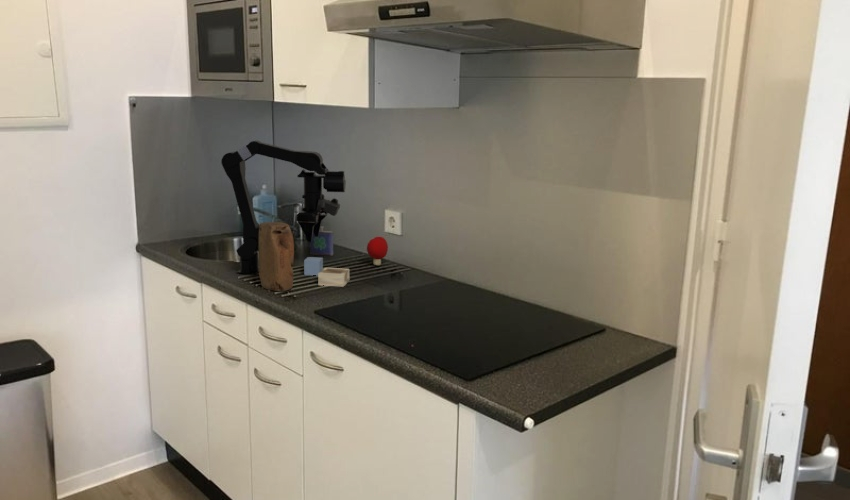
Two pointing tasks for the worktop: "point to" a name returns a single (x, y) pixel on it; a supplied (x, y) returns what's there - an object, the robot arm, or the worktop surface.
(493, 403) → the worktop surface
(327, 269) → the beech base
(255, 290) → the worktop surface
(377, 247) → the red toy tree
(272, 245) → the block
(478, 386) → the worktop surface
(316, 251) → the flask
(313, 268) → the slate cube
